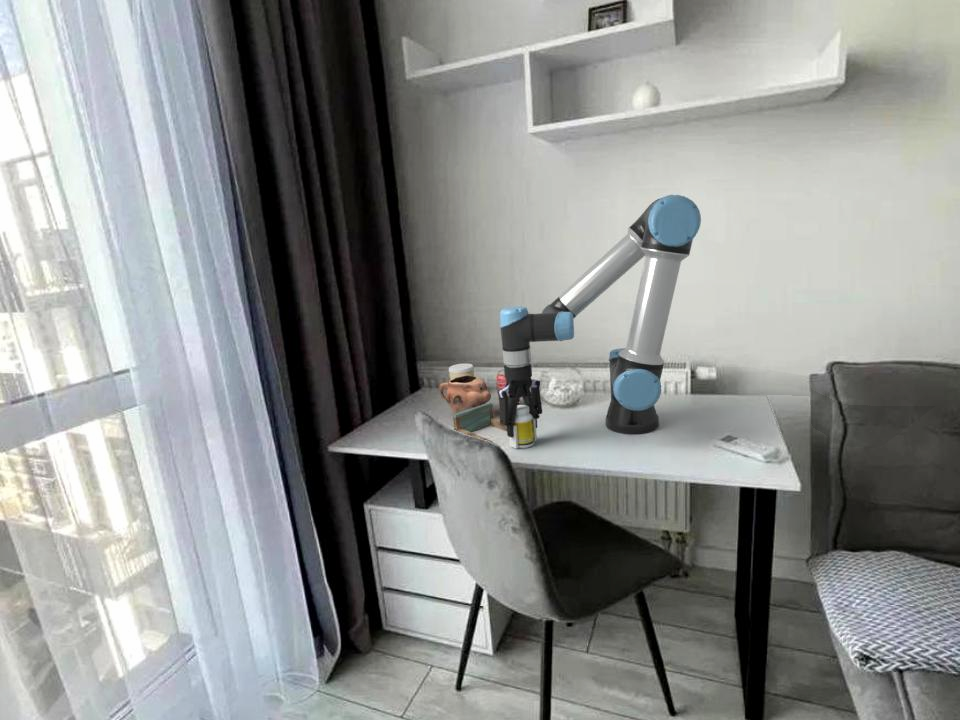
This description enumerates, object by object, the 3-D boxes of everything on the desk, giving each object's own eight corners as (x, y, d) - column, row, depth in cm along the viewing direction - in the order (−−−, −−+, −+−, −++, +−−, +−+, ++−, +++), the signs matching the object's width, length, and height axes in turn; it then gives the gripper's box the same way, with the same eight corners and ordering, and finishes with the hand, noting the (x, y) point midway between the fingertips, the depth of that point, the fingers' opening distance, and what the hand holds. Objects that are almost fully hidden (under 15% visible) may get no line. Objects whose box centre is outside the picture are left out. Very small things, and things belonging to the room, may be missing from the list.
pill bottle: (538, 446, 154) (535, 408, 151) (517, 450, 152) (514, 412, 150) (529, 438, 160) (527, 402, 157) (509, 442, 158) (506, 406, 156)
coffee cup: (476, 392, 210) (473, 362, 207) (477, 400, 200) (474, 368, 198) (451, 395, 209) (448, 364, 207) (451, 402, 200) (448, 370, 197)
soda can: (520, 410, 185) (518, 373, 182) (499, 412, 185) (496, 375, 182) (519, 404, 192) (517, 367, 189) (499, 405, 192) (496, 369, 189)
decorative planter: (430, 422, 181) (426, 382, 178) (449, 410, 192) (445, 372, 188) (485, 427, 172) (481, 385, 169) (501, 415, 182) (498, 374, 179)
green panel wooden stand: (526, 435, 162) (524, 413, 161) (488, 449, 154) (486, 427, 153) (491, 422, 176) (489, 402, 174) (454, 435, 168) (452, 414, 166)
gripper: (534, 355, 159) (539, 430, 164) (481, 369, 148) (488, 449, 153) (552, 358, 153) (557, 436, 158) (498, 373, 142) (505, 457, 147)
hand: (523, 443), depth 156 cm, fingers closed on pill bottle, 6 cm apart
